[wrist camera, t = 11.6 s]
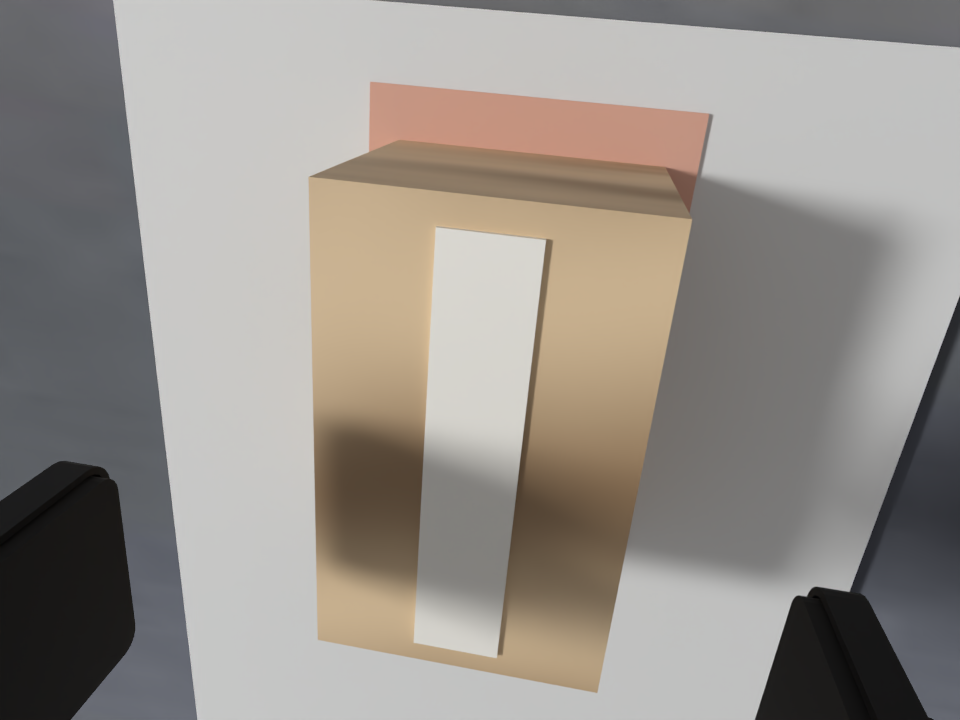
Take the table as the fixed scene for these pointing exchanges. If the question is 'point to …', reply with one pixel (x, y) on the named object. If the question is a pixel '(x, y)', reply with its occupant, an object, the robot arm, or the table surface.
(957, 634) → the table surface
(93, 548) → the robot arm
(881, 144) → the mat
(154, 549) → the table surface
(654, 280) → the card box
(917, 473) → the table surface
